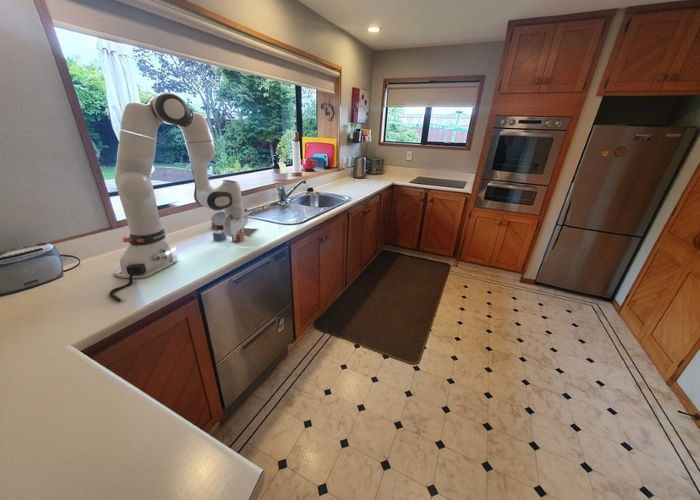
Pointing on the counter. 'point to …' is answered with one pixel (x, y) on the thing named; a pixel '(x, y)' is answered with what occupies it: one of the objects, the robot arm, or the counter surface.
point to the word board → (248, 231)
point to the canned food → (218, 220)
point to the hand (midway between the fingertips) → (238, 237)
